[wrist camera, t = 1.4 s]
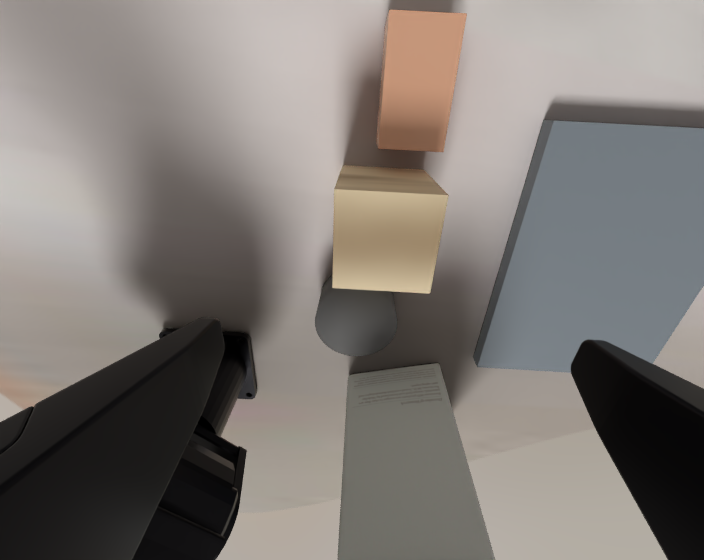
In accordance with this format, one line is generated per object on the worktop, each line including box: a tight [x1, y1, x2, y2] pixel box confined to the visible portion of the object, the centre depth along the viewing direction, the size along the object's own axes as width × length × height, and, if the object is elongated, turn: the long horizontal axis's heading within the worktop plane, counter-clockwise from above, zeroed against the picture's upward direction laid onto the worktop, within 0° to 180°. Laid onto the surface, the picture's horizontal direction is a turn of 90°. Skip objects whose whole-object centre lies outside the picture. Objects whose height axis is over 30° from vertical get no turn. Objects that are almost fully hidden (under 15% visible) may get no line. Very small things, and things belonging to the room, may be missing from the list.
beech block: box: [332, 165, 449, 294], centre depth 16 cm, size 4×4×6 cm
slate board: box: [473, 120, 704, 372], centre depth 20 cm, size 16×12×1 cm
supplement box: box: [338, 363, 495, 560], centre depth 21 cm, size 7×7×13 cm
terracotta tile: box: [376, 10, 467, 152], centre depth 15 cm, size 5×3×3 cm, turn 177°
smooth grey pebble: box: [315, 275, 397, 356], centre depth 21 cm, size 5×5×3 cm
